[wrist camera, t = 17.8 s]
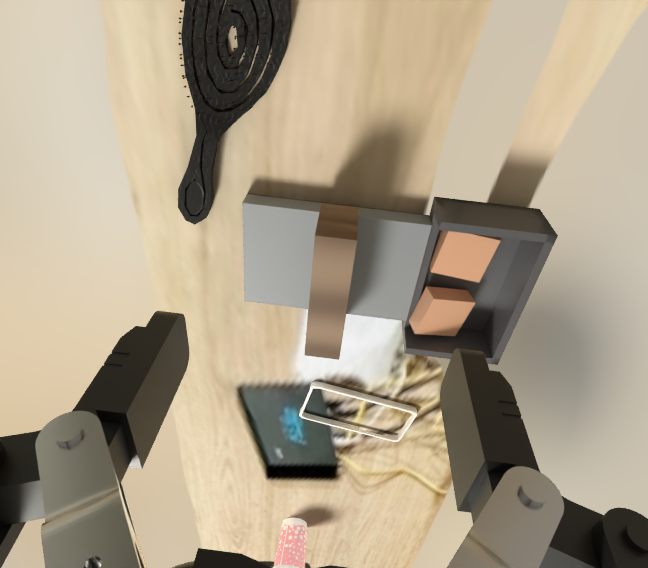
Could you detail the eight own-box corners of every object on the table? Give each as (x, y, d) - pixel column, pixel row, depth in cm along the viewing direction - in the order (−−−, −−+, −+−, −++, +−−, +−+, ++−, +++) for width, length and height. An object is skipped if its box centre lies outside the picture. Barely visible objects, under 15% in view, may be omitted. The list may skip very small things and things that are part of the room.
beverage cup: (288, 533, 85) (275, 620, 74) (272, 517, 82) (257, 606, 71) (316, 529, 83) (308, 618, 72) (302, 513, 80) (291, 603, 69)
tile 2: (426, 286, 46) (433, 299, 44) (467, 290, 47) (475, 302, 46) (408, 320, 49) (414, 333, 47) (447, 323, 50) (455, 336, 49)
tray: (434, 196, 42) (441, 221, 38) (539, 209, 42) (557, 235, 38) (401, 322, 52) (404, 353, 48) (487, 332, 51) (497, 364, 47)
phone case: (418, 405, 61) (313, 377, 59) (418, 413, 60) (312, 385, 58) (397, 435, 65) (299, 409, 64) (398, 443, 64) (298, 417, 62)
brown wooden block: (321, 203, 41) (314, 235, 36) (358, 207, 41) (357, 240, 36) (310, 316, 50) (304, 355, 45) (342, 320, 50) (338, 359, 45)
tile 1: (446, 219, 43) (449, 229, 41) (495, 230, 43) (500, 240, 41) (428, 261, 46) (430, 272, 44) (475, 271, 46) (479, 282, 44)
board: (247, 193, 43) (242, 202, 42) (429, 215, 43) (431, 225, 42) (248, 290, 51) (244, 301, 49) (405, 309, 50) (406, 320, 49)
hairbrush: (142, 218, 43) (184, -96, 28) (157, 200, 46) (202, -94, 31) (224, 247, 45) (306, -37, 29) (233, 228, 48) (313, -41, 32)
